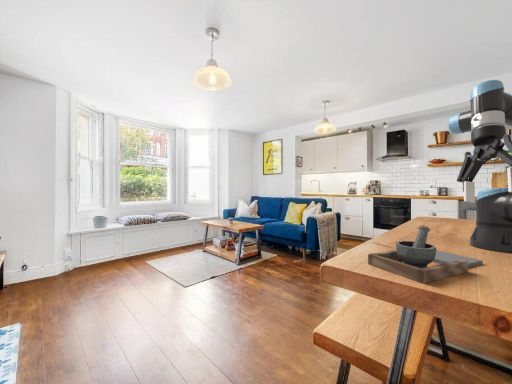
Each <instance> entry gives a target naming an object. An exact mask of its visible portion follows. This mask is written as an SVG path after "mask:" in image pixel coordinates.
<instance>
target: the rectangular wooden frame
mask: <svg viewBox="0 0 512 384" xmlns="http://www.w3.org/2000/svg"><path fill="white" fill-rule="evenodd" d="M367 257H368V258H367V264H368V265H370V266H372V267H376V268H378V269H381V270H384V271H387V272H391V273H393V274H395V275H399V276H401V277H403V278H407V279H410V280H412V281H415V282H418V283H421V284H423V285H424V284H427V283H431V282H435V281H439V280H442V279H447V278H450V277H454V276H456V275H461V274H464V273H468V272H469V267H468V261H466V260H457V261H453V262H449V263H444V264H440V263H439V264H436V265H431V266H427V267H426V268H422V269H421V268H418V267H414V266H411V265H408V264H405V263H402V262H400V261H402V260H401V259H400V257H399V256H398V254H397V252H396V249H392V250H386V251H379V252H374V253H368V255H367Z"/></svg>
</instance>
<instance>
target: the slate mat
mask: <svg viewBox="0 0 512 384" xmlns="http://www.w3.org/2000/svg"><path fill="white" fill-rule="evenodd" d="M457 260H466V261H468V268H470V267H474V266H479V265H482V264H483V260H482V259H479V258H478V259H477V258H473V257H468V256H464V255H461V254H460V255H459V254H455V253H453V252H452V253H451V252H447V251H441V250H438V249H436V256H435V258H434V260H433V261H432V263H436V264H439V265H440V264H444V263H449V262H453V261H457Z"/></svg>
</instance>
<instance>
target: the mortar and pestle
mask: <svg viewBox="0 0 512 384" xmlns="http://www.w3.org/2000/svg"><path fill="white" fill-rule="evenodd" d="M417 229H418V231H417V234H416V237H415V239H414V241H413V240H399V241H395V250H396V252H397V254H398V256H399V257H400V259H401V260H400V261H402V262H401V263H405V264H408V265H411V266H414V267H418V268H421V269H422V268H426V267H428V265H430V264H431V263H433V260H434V258H435V256H436V250H437V247H436V246H435V245H433V244H431V243H427V240H428V234H429V232H430V231H431V228H430V227H428V226H426V225H419V226H418V228H417Z"/></svg>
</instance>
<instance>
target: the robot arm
mask: <svg viewBox="0 0 512 384" xmlns="http://www.w3.org/2000/svg"><path fill="white" fill-rule="evenodd" d="M469 103H470V110H467V111H466V110H465V111H463V112H460V113H456V114H454V115H452V116H451V117H450V118H449V120H448V123H447V124H448V126H447V127H448V130H449V131H450V132H451V133H452V134H456V135H458V134H465V133H468V132H469V133H470V132H471V134H470V135H471V136H470V139H471V141H470V142H471V145H473V146H474V149H473V151H466V152H465V153H464V160H463V162H462V165H461V168H460V170H459V172H458V176H457V179H456V182H458V183H462V191H463V202H465V203H466V202H467V203H470V204H471V203H472V204H474V203H476V204H475V205H476V206H475V207H476V210H475V211H476V213H475V214H476V215H475V217H476V218H475V219H476V220H475V228H474V229H473V231H472V233H471V236H470V238H469V245H470V246H471V247H472V246H473V247H475V248H479V249H483V250H489V251H494V252H506V253H512V134H507V130H512V94H509V93H507V92H505V86H504V82H503V81H502V80H497V79H490V80H486V81H482V82H480V83H478V84H477V85H475V86H474V87H473V88H472V89H471V90H470V99H469ZM504 147H506V148H507V149H508V151H507V150H505V149H504ZM509 152H510V153H511V154H510V153H509ZM496 158H499V159H500V160H501V161H502V162H503V163H506V165H508V166H509V167H507V169H506V171H507V172H506V173H507V187H494V188H486V189H485V188H484V189H481V190H479V191H478V192H477V194H476V186H475V185H476V183H475V182H474V180H475V178H476V176H477V174H478V173H479V171H480V170H481V168H482V167H483V165H485V164H486V162H488V161H490V160H492V159H496Z"/></svg>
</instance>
